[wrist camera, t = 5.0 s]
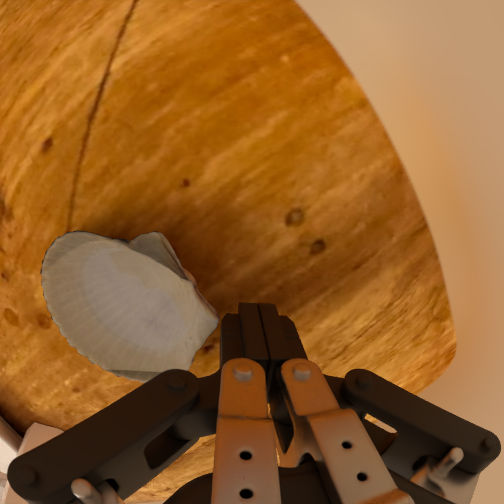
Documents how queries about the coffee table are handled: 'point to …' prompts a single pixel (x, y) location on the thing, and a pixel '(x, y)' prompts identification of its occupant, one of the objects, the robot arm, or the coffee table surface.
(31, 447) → the mug
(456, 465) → the robot arm
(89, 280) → the seashell
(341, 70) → the coffee table surface
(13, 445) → the white slab
